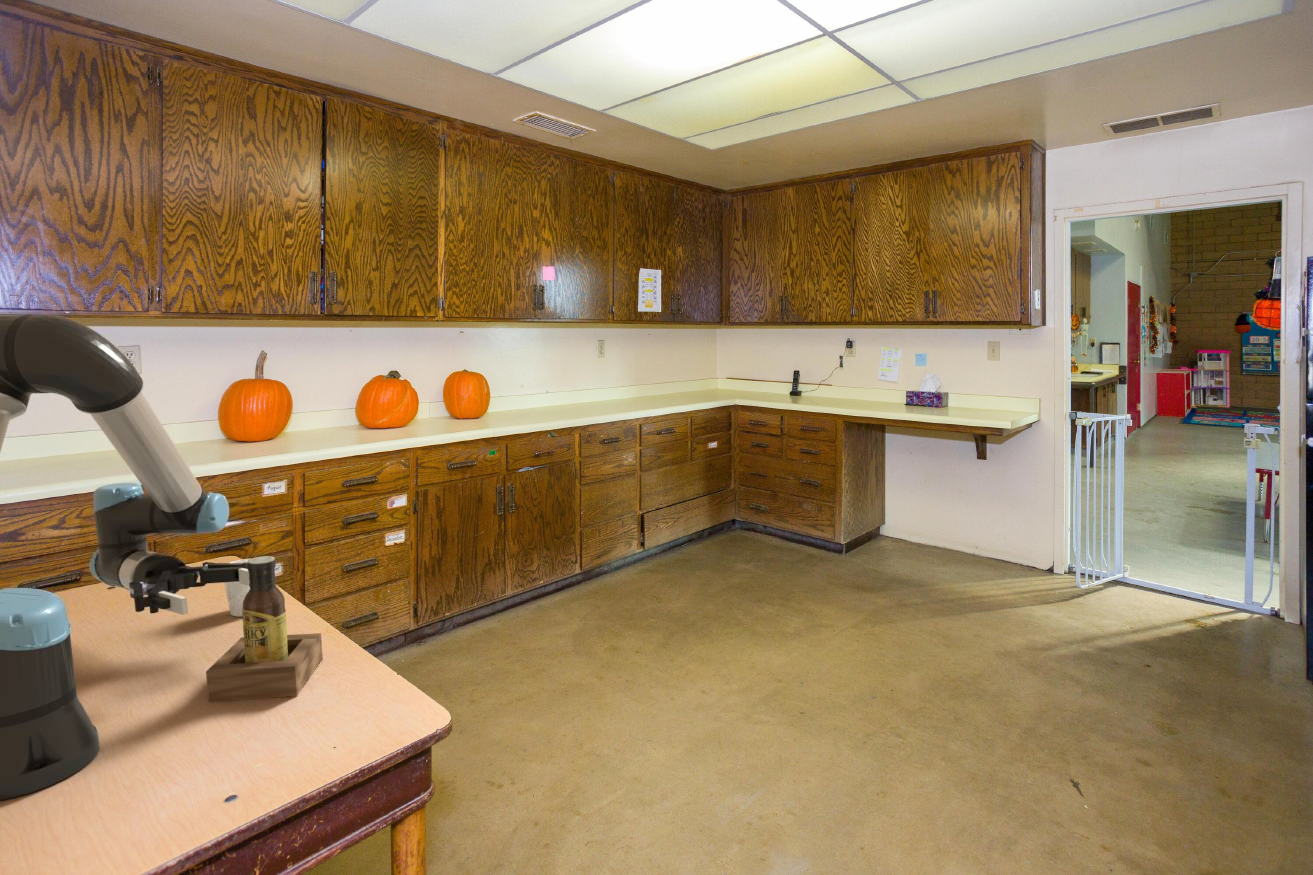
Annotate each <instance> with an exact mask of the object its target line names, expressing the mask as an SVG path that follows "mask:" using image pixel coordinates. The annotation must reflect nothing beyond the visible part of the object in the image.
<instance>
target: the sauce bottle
mask: <svg viewBox="0 0 1313 875" xmlns="http://www.w3.org/2000/svg"><path fill="white" fill-rule="evenodd" d="M249 559H250V560H248V562H247V569H248V571H249V582H250V583H249V587H250V590H249V592H248V593H247V595H246V596H245V598H244V600H243V609H242V615H243V617H242V629H243V637H244V646H245V663H257V662H275V661H285V660H286V659H287V658H288V645H287V635H288V629H287V625H288V624H287V610H286V606H285V605H286V604H285V603H286V602H285V596H284V594H283V592H282V591H281V590H280V589H279V587H277V580H276V572H275V571H276V570H275V569H276V566H277V564H276V558H275V557H274V556H269V555H262V556H256V557H253V558H252V557H251V558H249Z"/></svg>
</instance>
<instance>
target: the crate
mask: <svg viewBox="0 0 1313 875" xmlns="http://www.w3.org/2000/svg"><path fill="white" fill-rule="evenodd" d="M322 644H323V643H322V632H318V633H317V632H315V633H300V634H299V633H298V634H295V633H294V634H287V645H288V658H287V659H286V660H285V661H275V662H257V663H245V646H244V636H242V637H240V638H239V639H238V640H237V641H236V642H234V644H233V645H232V646H231V647H230V648H229V649H228V650H227V651H226V652H225V653H224V654H223V655H222V656H220V657H219V659H218V660H216V661H215V662H214V663H213V665H211V666H210V667H209V668H208V669H207V670H206V671H205V673H206V685H207V698H208V702H209V703H210V702H211V703H212V702H225V701H230V702H231V701H244V700H246V701H247V700H258V699H260V700H261V699H274V697H278V698H285V697H284V696H293V697H298V696H299V694H300V693H301V691H302V690H303V689H302V688H304V687H305V686H306V684H307V683H308V682H309V680H310V679H311V677H312V676H313V675H314V673H315V672H316V671H315V670H317V669H318V668H317V667H319V666H320V665H321V664H320V662H321V661H322V660H324V659H323V658H324V657H323V645H322ZM322 662H323V661H322ZM322 662H321V663H322ZM319 664H320V665H319ZM318 665H319V666H318ZM316 668H317V669H316ZM314 671H315V672H314ZM313 672H314V673H313ZM312 674H313V675H312ZM311 675H312V676H311ZM310 676H311V677H310ZM309 678H310V679H309ZM307 681H308V682H307ZM306 682H307V683H306ZM304 685H305V686H304ZM299 692H300V693H299ZM297 695H298V696H297ZM272 697H273V698H272Z"/></svg>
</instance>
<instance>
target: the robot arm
mask: <svg viewBox="0 0 1313 875" xmlns="http://www.w3.org/2000/svg"><path fill="white" fill-rule="evenodd" d="M144 386H145V383H144V380H143V378H142V377H141V375H140V373H139V372H138V371H137V368H136V367H135V365H134V364H133V363H132V362H131V361H130V359H128V357H127V356H126V355H125V354H124V353H123V352H121V350H120V349H119V348H118V347H116V346H115V345H114V344H113V343H112V342H111V341H110V340H108V339H107V338H106V337H104V336H103V335H102V334H100V333H99V332H98V331H95V330H94V329H92V328H90V327H89V326H88V325H85V324H84V323H81V322H78V321H77V320H74V319H72V318H69V317H65V316H62V315H57V314H51V313H38V314H37V313H36V314H0V453H1V451H2V447H3V444H4V441H5V437H6V435H7V430H8V426H9V424H10V421H11V420H13V419H16V418H18V417H20V416H23V415H24V414H26V412H27V410H28V409H27V408H28V406H29V401H30V398H31V395H33V394H54V395H55V394H57V395H60V396H62V397H65V398H67V399H69V400H70V401H71V403H72V404H73V406H74V407H75V408H76V409H77V410H78V411H80V412H81V413H84V414H87V415H88V414H89V415H91V417H92V419H93V420H94V421H95V423H96V424H97V425H98V427H99V429H100V430H101V431H102V432H103V433H104V435H105V436H106V438H107V439H108V441H109V442H110V443H111V445H112V447H114V449H115V450H116V451H117V453H118V455H119V456H120V457H121V458H122V459H123V461H124V462H125V464H126V465H127V466H128V468H129V469H130V471H131V472H132V473H133V474H134V475H133V476H135V478H136V479H137V480H138V481H139V483H138V482H137V483H135V482H134V483H133V482H119V483H112V484H106V485H102V486H99V487H97V488H96V489H95V490H94V492H93V495H92V496H93V514H94V522H95V530H96V531H95V532H96V536H97V550H96V551H94V553H93V554H92V556H91V558H90V561H89V563H88V564H89V567H88V568H89V571H90V573H91V575H92V576H93V577H94V579H96V580H97V581H100V582H102V583H104V584H105V585H107V586H110V587H118V588H121V589H126V590H128V591H129V596H130V598H132V599H133V602H134V610H135V612H137V613H141V612H143V611H145V608H149V613H150V614H156V613H159V610H165V611H168V612H172V613H176V614H178V615H183V616H184V615H188V614H189V610H188V608H189V606H188V598H187V597H186V596H183V595H180V594H177V593H178V592H179V591H180V590H188V589H189V588H197V587H198V588H201V587H202V588H203V587H204V586H206V585H208V584H218V583H219V584H221V583H223V584H224V583H225V582H238V581H239V582H240V584H244V585H248V586H249V583H250V582H249V571H248V569H247V563H246V562H244V563H230V562H209V561H205V562H202V565H201V566H190V565H186V564H185V563H184V562H183V560H182V559H180V558H178V557H176V556H171V555H168V554H165V553H159V552H156V551H150V550H149V548H148V536H149V535H201V534H212V533H219V532H220V531H222V530H224V528H225V527H226V525H227V522H228V521H229V517H230V507H229V501H228V500H227V498H226V496H225V495H224V494H221V493H218V492H211V491H209V492H205V490H204V489H203V487H202V485H201V484H200V483H199V481H198V480H197V478H196V476H195V475H194V473H193V472H192V470H191V469H190V467H189V465H188V464H187V463H186V461H185V459H184V458H183V456H182V454H181V453H180V451H179V450H178V448H177V446H176V445H175V443H174V441H173V440H172V439H171V437H170V435H169V433H168V432H167V431H166V429H165V427H164V425H163V424H162V422H161V421H160V419H159V417H158V416H157V415H156V413H155V412H154V410H153V407H152V406H151V405H150V403H149V402H148V400H147V398H146V396H145V395H144V394H143V390H144ZM143 489H144V490H145V491H146V492H147V493H146V494H145V492H144V491H143ZM198 579H199V581H198ZM71 625H72V624H71V622H70V620H69V618H68V613H67V610H66V604H65V603H64V601H63V600H62V598H61V597H60V596H59V595H58V594H55V593H53V592H51V591H48V590H44V589H39V588H30V587H7V588H2V589H0V801H3V800H8V799H12V798H16V797H20V796H24V795H27V794H30V793H33V792H36V791H39V790H43V789H45V788H48V787H50V786H52V785H55V784H57V783H58V782H61V781H64V780H65V779H67V778H69V777H71V776H72V775H74V774H76V773H78V772H79V771H81V770H83V769H84V768H85V767H87V766H88V765H89V764H90V763H91V762H92V761H93V760H94V759H95V758H96V757H97V755H98V754H99V752H100V749H101V745H100V738H99V733H98V729H97V728H96V726H95V725H94V724H93V722H92V720H91V718H90V717H89V715H88V713H87V711H86V709H85V708H84V707H83V704H82V703H81V701H80V699H79V698H78V691H77V685H76V674H75V665H74V657H73V648H72V640H71V638H72V637H71V630H72V627H71Z"/></svg>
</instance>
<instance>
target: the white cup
mask: <svg viewBox="0 0 1313 875" xmlns="http://www.w3.org/2000/svg"><path fill="white" fill-rule="evenodd" d="M250 559H251V558H244V559H238V560H234V561H230V562H229V563H244V562H246V563H247V562H248V560H250ZM224 587H225V588H224V589H225V593H226V599H227V603H228V610H229V613H230V616H233V617H239V618H240V617H241V618H243V615H242V609H243V600H244V598H245V596H246V595H247V593H248V592H249V590H250V587H249V586H248V585H244V584H240V582H239V581H238V582H224Z"/></svg>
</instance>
